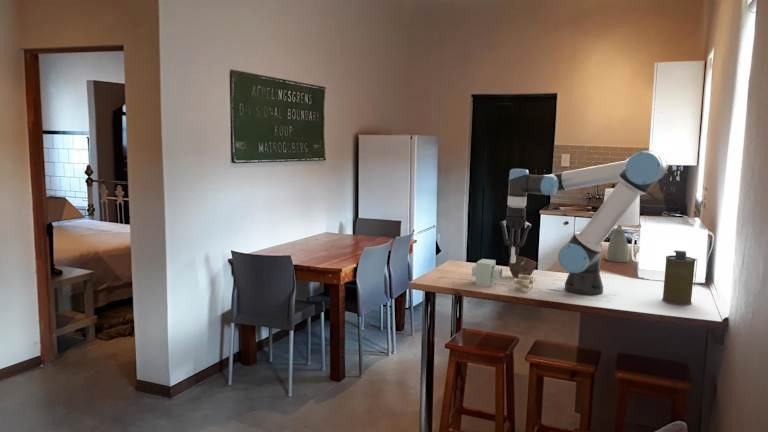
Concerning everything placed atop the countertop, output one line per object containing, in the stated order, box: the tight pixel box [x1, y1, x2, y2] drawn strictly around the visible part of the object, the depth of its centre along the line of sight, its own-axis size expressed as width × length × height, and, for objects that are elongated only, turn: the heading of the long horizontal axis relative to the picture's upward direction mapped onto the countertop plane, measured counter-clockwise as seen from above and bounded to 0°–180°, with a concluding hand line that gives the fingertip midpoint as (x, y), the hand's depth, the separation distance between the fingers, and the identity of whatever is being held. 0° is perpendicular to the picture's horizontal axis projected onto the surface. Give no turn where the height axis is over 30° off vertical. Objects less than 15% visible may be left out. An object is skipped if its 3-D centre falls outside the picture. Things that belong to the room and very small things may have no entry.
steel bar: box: [471, 264, 503, 280], centre depth 253 cm, size 12×4×4 cm, turn 66°
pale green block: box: [475, 258, 497, 288], centre depth 254 cm, size 6×9×10 cm, turn 156°
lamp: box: [603, 187, 641, 263], centre depth 309 cm, size 19×19×37 cm
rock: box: [507, 255, 538, 279], centre depth 265 cm, size 12×10×10 cm
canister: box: [661, 250, 698, 306], centre depth 231 cm, size 11×10×20 cm
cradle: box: [513, 274, 534, 293], centre depth 247 cm, size 6×11×4 cm, turn 156°
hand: (512, 262), depth 248 cm, fingers closed
